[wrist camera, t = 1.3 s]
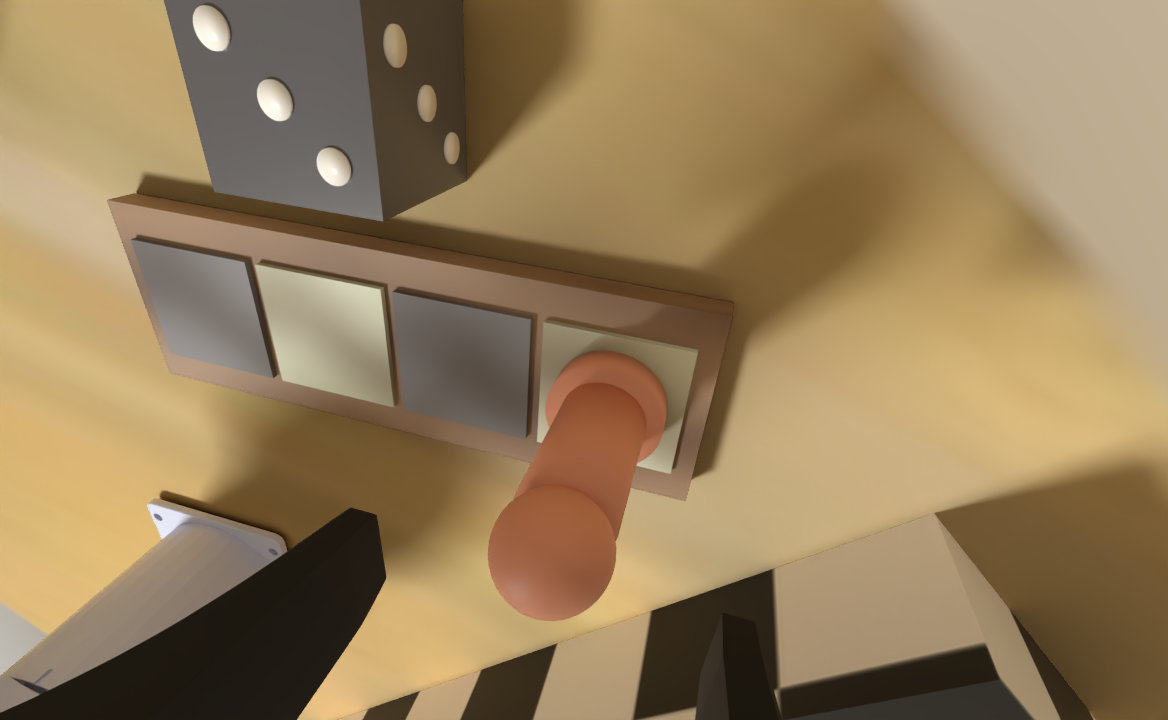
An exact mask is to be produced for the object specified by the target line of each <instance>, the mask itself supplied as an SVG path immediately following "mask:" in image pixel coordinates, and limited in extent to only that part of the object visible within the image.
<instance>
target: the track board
mask: <svg viewBox="0 0 1168 720" xmlns="http://www.w3.org/2000/svg"><path fill="white" fill-rule="evenodd" d="M107 202H108V205H109V208H110V210H111V213H112V216H113V219H114V221H115V224H116V227H117V230H118V232H119V235H120V238H121V241H122V243H123V246H124V249H125V252H126V254H127V257H128V260H129V263H130V265H131V268H132V271H133V274H134V276H135V279H136V282H137V285H138V287H139V290H140V293H141V296H142V298H143V301H144V304H145V307H146V309H147V312H148V315H149V318H150V320H151V323H152V326H153V329H154V331H155V334H156V337H157V340H158V342H159V345H160V348H161V351H162V353H163V356H164V359H165V362H166V364H167V367H168V370H169V373H171V374H175V375H179V376H183V377H187V378H191V379H195V380H199V381H203V382H207V383H211V384H215V385H219V386H223V387H227V388H231V389H235V390H239V391H243V392H247V393H251V394H255V395H259V396H263V397H267V398H271V399H275V400H279V401H283V402H287V403H291V404H296V405H300V406H304V407H308V408H312V409H316V410H320V411H324V412H328V413H332V414H336V415H340V416H344V417H348V418H352V419H356V420H360V421H364V422H368V423H372V424H376V425H380V426H384V427H388V428H392V429H396V430H400V431H404V432H408V433H412V434H416V435H420V436H424V437H428V438H432V439H437V440H441V441H445V442H449V443H453V444H457V445H461V446H465V447H469V448H473V449H477V450H481V451H485V452H489V453H493V454H497V455H501V456H505V457H509V458H513V459H517V460H521V461H525V462H529V463H532V461H533V459H534V457H535V455H536V453H537V451H538V449H539V447H540V445H541V444H542V442H543V440H544V438H545V436H546V434H547V432H548V430H549V426H548V423H547V420H546V415H545V404H546V399H547V396H548V393H549V392H550V390H551V388H552V386H553V384H554V382H555V381H556V379H557V377H558V375H559V374H560V372H561V371H562V369H563V368H564V367H565V366H566V365H567V364H568V363H569V362H570V361H571V360H573V359H574V358H576V357H578V356H580V355H582V354H585V353H589V352H593V351H613V352H618V353H622V354H625V355H628V356H631V357H633V358H635V359H637V360H638V361H640V362H642V363H643V364H644V365H646V366H647V367H648V368H649V369H650V370H652V372H653V373H654V374H655V375H656V376H657V377H658V379H659V380H660V382H661V384H662V385H663V387H664V390H665V393H666V396H667V401H668V410H667V417H666V421H665V426H664V430H663V435H662V438H661V441H660V443H659V445H658V447H657V448H656V449H655V451H654V452H653V453H652V454H651V455H650V456H648V457H647V458H646V459H644V460H642V461H641V462H639V463H637V466H636V469H635V473H634V477H633V481H632V485H631V488H634V489H638V490H642V491H646V492H650V493H654V494H658V495H662V496H666V497H670V498H674V499H678V500H682V501H686V498H687V494H688V491H689V487H690V483H691V479H692V475H693V471H694V467H695V463H696V459H697V455H698V451H699V447H700V443H701V439H702V436H703V432H704V428H705V424H706V420H707V416H708V412H709V408H710V404H711V400H712V396H713V392H714V388H715V384H716V381H717V377H718V373H719V369H720V365H721V361H722V357H723V353H724V349H725V345H726V341H727V337H728V333H729V329H730V326H731V322H732V318H733V302H727V301H722V300H716V299H711V298H705V297H700V296H694V295H689V294H684V293H678V292H673V291H667V290H662V289H656V288H651V287H645V286H640V285H634V284H629V283H623V282H618V281H612V280H607V279H601V278H596V277H590V276H585V275H579V274H574V273H568V272H563V271H557V270H552V269H546V268H541V267H536V266H530V265H525V264H519V263H514V262H508V261H503V260H497V259H492V258H486V257H481V256H475V255H470V254H464V253H459V252H453V251H448V250H442V249H437V248H431V247H426V246H420V245H415V244H409V243H404V242H398V241H393V240H388V239H382V238H377V237H371V236H366V235H360V234H355V233H349V232H344V231H338V230H333V229H327V228H322V227H316V226H311V225H305V224H300V223H294V222H289V221H283V220H278V219H272V218H267V217H261V216H256V215H250V214H245V213H240V212H234V211H229V210H223V209H218V208H212V207H207V206H201V205H196V204H190V203H185V202H179V201H174V200H168V199H163V198H157V197H152V196H146V195H141V194H135V193H134V194H130V195H126V196H121V197H117V198H113V199H109V200H107Z"/></svg>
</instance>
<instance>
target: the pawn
mask: <svg viewBox="0 0 1168 720" xmlns="http://www.w3.org/2000/svg"><path fill="white" fill-rule="evenodd" d="M667 410H668V401H667V396H666V393H665V390H664V387H663V385H662V384H661V382H660V380H659V379H658V377H657V376H656V375H655V374H654V373H653V372H652V370H650V369H649V368H648V367H647V366H646V365H644V364H643V363H642V362H640V361H638V360H637V359H635V358H633V357H631V356H628V355H625V354H622V353H618V352H613V351H593V352H589V353H585V354H582V355H580V356H578V357H576V358H574V359H573V360H571V361H570V362H569V363H568V364H567V365H566V366H565V367H564V368H563V369H562V371H561V372H560V374H559V375H558V377H557V379H556V381H555V382H554V384H553V386H552V388H551V390H550V392H549V393H548V396H547V399H546V404H545V415H546V420H547V423H548V426H549V430H548V432H547V434H546V436H545V438H544V440H543V442H542V444H541V445H540V447H539V449H538V451H537V453H536V455H535V457H534V459H533V461H532V463H531V465H530V467H529V469H528V471H527V473H526V474H525V476H524V478H523V480H522V482H521V484H520V486H519V488H518V490H517V492H516V494H515V497H514V500H513V501H512V502H511V503H509V504H508V506H507V507H506V508H505V509H504V510H503V511H502V513H501V514H500V516H499V517H498V519H497V521H496V523H495V525H494V527H493V530H492V533H491V536H490V540H489V548H488V561H489V568H490V572H491V576H492V579H493V581H494V584H495V586H496V588H497V590H498V591H499V593H500V594H501V596H502V597H503V598H504V599H505V601H506V602H507V603H508V604H509V605H511V606H512V607H513V608H514V609H516V610H517V611H519V612H520V613H522V614H524V615H526V616H528V617H531V618H534V619H538V620H544V621H557V620H564V619H568V618H571V617H573V616H576V615H578V614H580V613H582V612H583V611H585V610H587V609H588V608H589V607H591V606H592V605H593V604H594V603H595V602H596V601H597V600H598V599H599V598H600V596H601V595H602V594H603V592H604V591H605V589H606V588H607V586H608V584H609V582H610V580H611V577H612V574H613V571H614V567H615V562H616V542H615V541H616V539H617V537H618V534H619V530H620V526H621V523H622V519H623V515H624V511H625V507H626V504H627V500H628V496H629V492H630V488H631V485H632V481H633V477H634V473H635V469H636V466H637V463H639V462H641V461H642V460H644V459H646V458H647V457H648V456H650V455H651V454H652V453H653V452H654V451H655V449H656V448H657V447H658V445H659V443H660V441H661V438H662V435H663V430H664V426H665V421H666V417H667Z"/></svg>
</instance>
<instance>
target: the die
mask: <svg viewBox="0 0 1168 720" xmlns="http://www.w3.org/2000/svg"><path fill="white" fill-rule="evenodd" d="M164 2H165V6H166V10H167V14H168V18H169V21H170V25H171V29H172V33H173V37H174V40H175V44H176V48H177V52H178V56H179V59H180V63H181V67H182V71H183V75H184V79H185V82H186V86H187V90H188V94H189V98H190V101H191V105H192V109H193V113H194V117H195V121H196V124H197V128H198V132H199V136H200V140H201V143H202V147H203V151H204V155H205V159H206V163H207V166H208V170H209V174H210V178H211V182H212V185H213V189H214V192H217V193H223V194H228V195H234V196H240V197H246V198H251V199H257V200H263V201H269V202H274V203H280V204H286V205H292V206H297V207H303V208H309V209H315V210H320V211H326V212H332V213H338V214H343V215H349V216H355V217H360V218H366V219H372V220H378V221H385V220H387V219H389V218H391V217H393V216H395V215H398V214H400V213H402V212H404V211H406V210H408V209H410V208H412V207H414V206H416V205H418V204H420V203H422V202H424V201H426V200H428V199H430V198H432V197H435V196H437V195H439V194H441V193H443V192H445V191H447V190H449V189H451V188H453V187H455V186H457V185H459V184H461V183H463V182H465V181H467V157H466V117H465V76H464V35H463V0H164Z"/></svg>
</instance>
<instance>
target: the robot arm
mask: <svg viewBox="0 0 1168 720" xmlns="http://www.w3.org/2000/svg"><path fill="white" fill-rule="evenodd" d="M147 506H148V509H149V512H150V514H151V516H152V518H153V520H154V523H155V525H156V527H157V529H158V531H159V533H160V536H161V538H162V540H161V541H160V542H158V543H157V544H156V545H155V546H154V547H153V548H151V549H150V550H149V551H148V552H147V553H145V554H144V555H143V556H142V557H141V558H140V559H138V560H137V561H136V562H135V563H134V564H132V565H131V566H130V567H129V568H128V569H126V570H125V571H124V572H123V573H122V574H121V575H119V576H118V577H117V578H116V579H115V580H113V581H112V582H111V583H110V584H109V585H107V586H106V587H105V588H104V589H103V590H102V591H100V592H99V593H98V594H97V595H96V596H94V597H93V598H92V599H91V600H90V601H89V602H87V603H86V604H85V605H84V606H83V607H81V608H80V609H79V610H78V611H77V612H75V613H74V614H73V615H72V616H71V617H70V618H68V619H67V620H66V621H65V622H64V623H62V624H61V625H60V626H59V627H58V628H56V629H55V630H54V631H53V632H52V633H51V634H49V635H48V636H47V637H46V638H45V639H43V641H41V642H40V643H39V644H38V645H36V646H35V647H34V648H33V649H32V650H30V651H29V652H28V653H27V654H26V655H24V656H23V657H22V658H21V659H20V660H19V661H17V662H16V663H15V664H14V665H13V666H11V667H10V668H9V669H8V670H7V671H6V672H4V673H3V674H2V675H1V676H0V720H297V718H298V717H299V716H300V714H301V713H302V711H303V710H304V708H305V707H306V705H307V704H308V703H309V701H310V700H311V698H312V697H313V695H314V694H315V692H316V691H317V689H318V688H319V687H320V685H321V684H322V682H323V681H324V679H325V678H326V676H327V675H328V674H329V672H330V671H331V669H332V668H333V666H334V665H335V663H336V662H337V660H338V659H339V658H340V656H341V655H342V653H343V652H344V650H345V649H346V647H347V646H348V644H349V643H350V641H351V640H352V638H353V637H354V635H355V634H356V632H357V631H358V629H359V628H360V626H361V625H362V623H363V621H364V619H365V618H366V616H367V614H368V612H369V610H370V609H371V607H372V605H373V603H374V601H375V599H376V597H377V595H378V593H379V591H380V590H381V588H382V586H383V584H384V582H385V580H386V572H385V566H384V559H383V553H382V546H381V540H380V534H379V527H378V521H377V515H375V514H372V513H368V512H365V511H361V510H357V509H354V508H350V509H348V510H346V511H345V512H343V513H342V514H340V515H339V516H338V517H336V518H335V519H333V520H332V521H330V522H329V523H327V524H326V525H325V526H323V527H322V528H320V529H319V530H317V531H316V532H314V533H313V534H312V535H310V536H309V537H307V538H306V539H304V540H303V541H302V542H300V543H299V544H297V545H296V546H294V547H293V548H291V549H290V550H289V551H287V548H286V544H285V541H284V539H283V538H282V537H281V536H279V535H278V534H276V533H272V532H269V531H266V530H262V529H259V528H256V527H252V526H249V525H245V524H242V523H239V522H235V521H232V520H229V519H225V518H222V517H219V516H215V515H212V514H208V513H205V512H202V511H198V510H195V509H192V508H188V507H185V506H182V505H178V504H175V503H171V502H168V501H165V500H161V499H153V500H152V501H151V502H149V503H148V505H147ZM695 720H782V717H781V714H780V710H779V707H778V703H777V700H776V696H775V692H774V689H773V685H772V681H771V677H770V673H769V669H768V665H767V661H766V656H765V652H764V647H763V643H762V638H761V632H760V627H759V626H758V625H757V623H756V622H754V621H751V620H747V619H744V618H740V617H737V616H733V615H730V614H726V613H722V614H721V617H720V620H719V622H718V625H717V628H716V631H715V634H714V636H713V639H712V642H711V645H710V648H709V651H708V653H707V656H706V659H705V662H704V665H703V667H702V670H701V673H700V681H699V689H698V698H697V706H696V715H695Z"/></svg>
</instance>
